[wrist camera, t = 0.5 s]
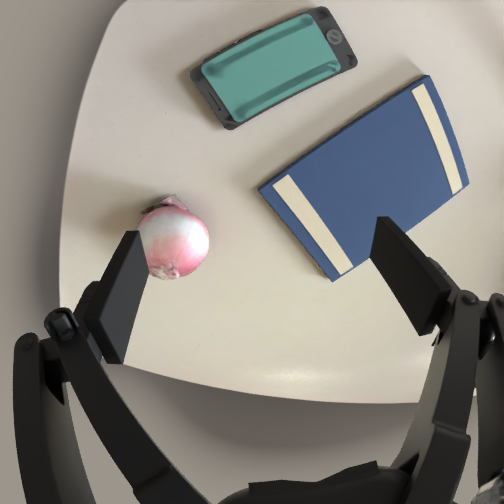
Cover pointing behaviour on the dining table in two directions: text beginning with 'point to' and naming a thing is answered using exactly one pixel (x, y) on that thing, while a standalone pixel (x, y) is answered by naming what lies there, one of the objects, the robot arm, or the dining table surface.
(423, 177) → the towel
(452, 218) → the dining table surface
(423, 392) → the robot arm
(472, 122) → the dining table surface
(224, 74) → the smartphone
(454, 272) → the dining table surface
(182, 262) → the onion
